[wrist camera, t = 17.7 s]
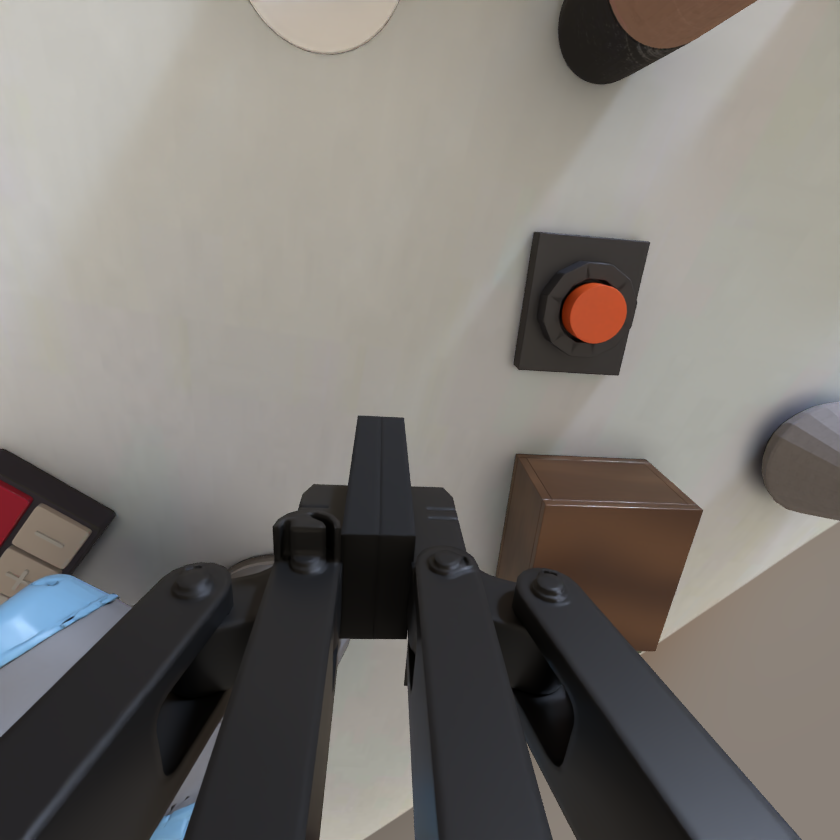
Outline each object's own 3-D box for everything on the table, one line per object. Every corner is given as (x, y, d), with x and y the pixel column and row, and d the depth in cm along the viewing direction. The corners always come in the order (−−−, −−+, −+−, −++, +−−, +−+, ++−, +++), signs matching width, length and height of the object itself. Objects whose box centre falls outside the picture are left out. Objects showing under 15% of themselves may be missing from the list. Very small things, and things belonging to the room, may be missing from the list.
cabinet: (611, 583, 53) (655, 651, 44) (494, 581, 52) (516, 651, 43) (646, 459, 47) (703, 510, 39) (515, 453, 46) (545, 504, 38)
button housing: (610, 370, 44) (628, 381, 40) (513, 364, 43) (523, 375, 40) (640, 241, 40) (662, 242, 36) (533, 231, 39) (547, 232, 36)
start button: (608, 340, 39) (619, 345, 38) (556, 336, 39) (565, 342, 37) (621, 284, 38) (633, 287, 36) (567, 280, 37) (576, 283, 36)
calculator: (97, 534, 42) (13, 646, 45) (121, 509, 46) (42, 613, 49) (-33, 463, 39) (-114, 589, 42) (5, 443, 43) (-71, 559, 46)
